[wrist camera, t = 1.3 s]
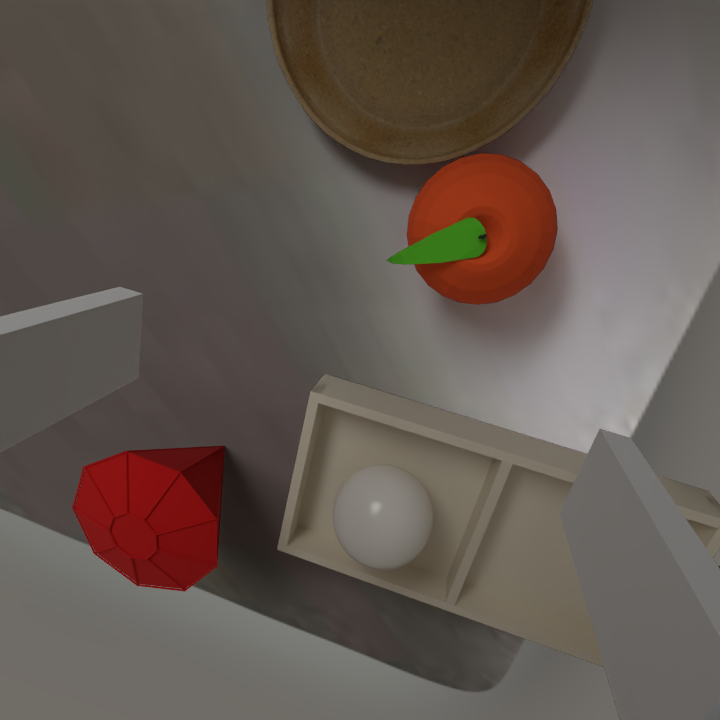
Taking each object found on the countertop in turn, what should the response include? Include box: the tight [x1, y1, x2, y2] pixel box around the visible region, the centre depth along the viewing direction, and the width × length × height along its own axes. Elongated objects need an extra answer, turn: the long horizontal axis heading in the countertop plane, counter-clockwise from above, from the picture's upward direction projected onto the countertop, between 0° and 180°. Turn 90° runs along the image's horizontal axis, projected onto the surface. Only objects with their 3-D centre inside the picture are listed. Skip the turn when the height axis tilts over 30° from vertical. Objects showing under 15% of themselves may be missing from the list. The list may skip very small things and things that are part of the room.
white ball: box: [333, 464, 433, 570], centre depth 28 cm, size 6×6×6 cm
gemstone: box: [72, 446, 225, 591], centre depth 29 cm, size 9×9×10 cm
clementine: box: [387, 153, 557, 305], centre depth 22 cm, size 8×7×7 cm
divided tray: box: [277, 374, 720, 667], centre depth 29 cm, size 12×24×3 cm, turn 77°
